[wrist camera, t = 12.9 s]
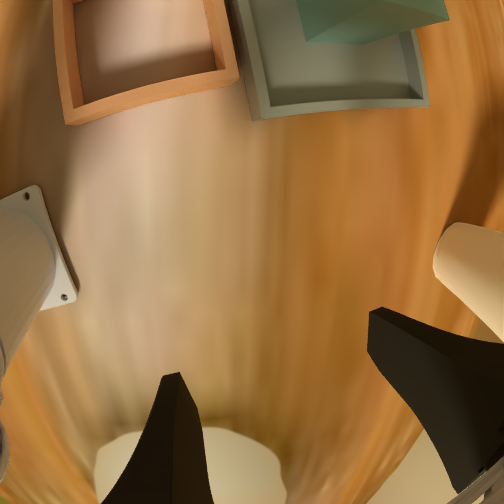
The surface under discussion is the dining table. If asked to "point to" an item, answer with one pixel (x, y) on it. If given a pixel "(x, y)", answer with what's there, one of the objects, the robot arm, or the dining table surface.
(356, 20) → the teal block
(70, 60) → the orange square frame
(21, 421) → the dining table surface
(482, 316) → the foam cup
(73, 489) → the dining table surface
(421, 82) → the slate tray
